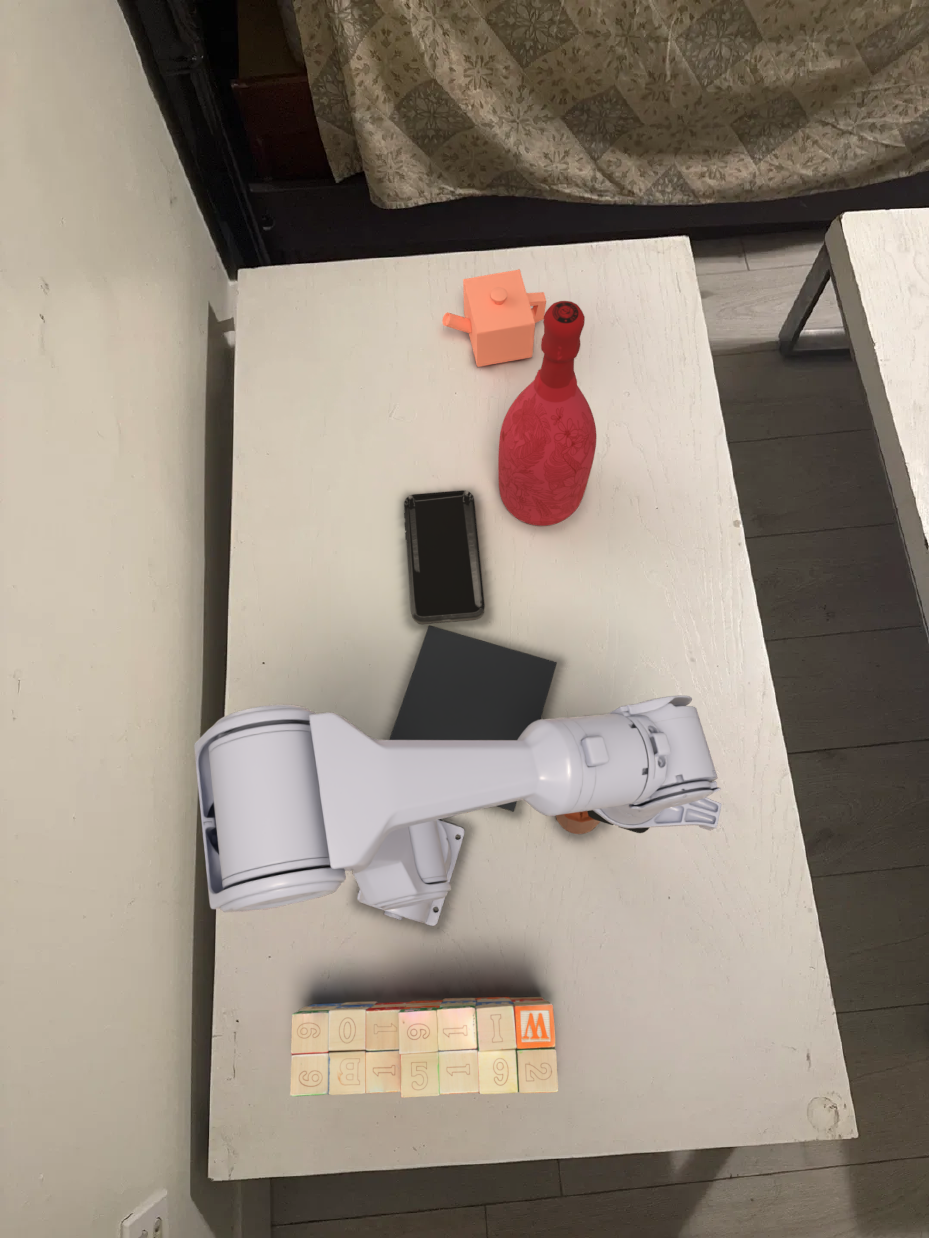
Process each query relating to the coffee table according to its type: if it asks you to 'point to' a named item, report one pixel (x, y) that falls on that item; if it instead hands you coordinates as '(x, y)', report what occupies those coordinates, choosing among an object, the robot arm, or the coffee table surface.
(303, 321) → the coffee table surface
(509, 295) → the pink cube teapot
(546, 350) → the wine bottle
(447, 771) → the robot arm
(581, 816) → the brown jar
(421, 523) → the phone
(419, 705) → the mat
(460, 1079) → the stack of blocks
